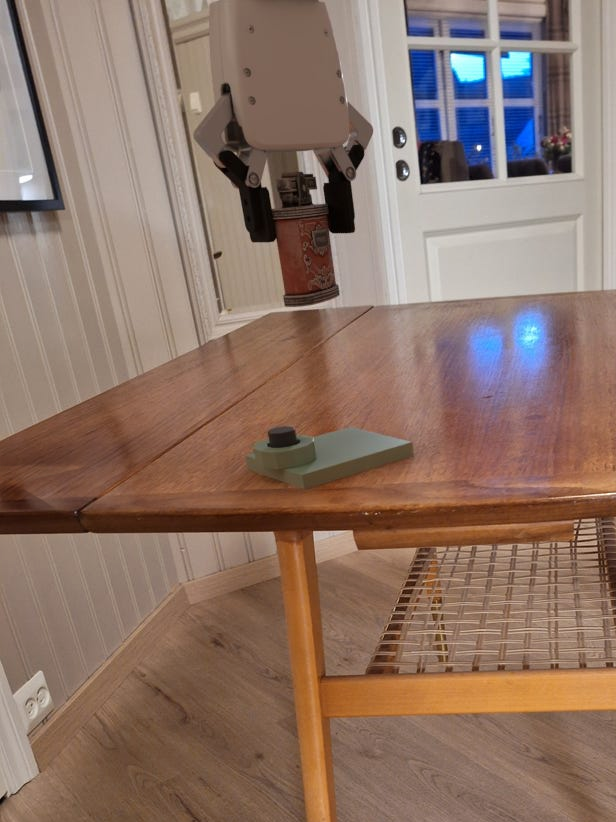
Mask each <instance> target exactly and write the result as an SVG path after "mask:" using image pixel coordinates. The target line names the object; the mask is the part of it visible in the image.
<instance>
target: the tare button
mask: <svg viewBox="0 0 616 822" xmlns="http://www.w3.org/2000/svg"><path fill="white" fill-rule="evenodd" d="M296 435H297V432H296V428H295V427H294V426H288V425H287V426H286V425H284V426H277V427H273V428H270V429H269V430H267V437H268V439H269V442H270V447H271V448H283V447H290V446H293V445H297V444H298V443H297V437H296Z"/></svg>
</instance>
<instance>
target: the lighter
mask: <svg viewBox="0 0 616 822" xmlns="http://www.w3.org/2000/svg"><path fill="white" fill-rule="evenodd" d="M275 183H276V190H277V193H278V194H279V199H280V201H281V207H276V208H274V207H273V208H272V215H273V220H274V226H275V232H276V240H275V241H276V246H277V251H278V258H279V264H280V271H281V278H282V284H283V290H284V294H283V295H282V298H283V305H284V307H285V308H298V307H299V308H301V307H309V306H314V305H318V304H322V303H325V302H328V301H331V300H333V299H335V298H337V297H339V296H340V289H339V288H340V287H339V284H337V282H336V274H335V266H334V259H333V251H332V245H331V236H330V231H329V227H328V220H327V214H328V213H329V210H328V204H325V203H316V204H314V203H313V197H312V194H311V192H310V191H312V190H318V185H317V177H316V176H314V173H304V172H303V171H291V172H282V173H281V177H280V178H275Z"/></svg>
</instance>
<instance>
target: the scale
mask: <svg viewBox="0 0 616 822" xmlns="http://www.w3.org/2000/svg"><path fill="white" fill-rule="evenodd" d="M296 437H297V443H298V444H297V445H293V446H290V447H283V448H271V447H270V442H269V438H266V439H262V440H260V441H258V442H256V443H254V444H253V448H252V449H253V452H252V453H250V454H246V455H244V458H245V463H246V468H247V470H248V471H252V472H254V473H257V474H260V475H263V476H266V477H269V478H271V479H274V480H276V481H279V482H282V483H285V484H288V485H290V486H293V487H296V488H299V489H301V490H308V489H312V488H314V487H317V486H321V485H324V484H328V483H331V482H335V481H337V480H340V479H344V478H347V477H349V476H353V475H356V474H360V473H363V472H367V471H369V470H373V469H375V468H376V469H377V468H379V467H382V466H385V465H388V464H392V463H395V462H399V461H402V460H405V459H408V458H411V457H414V445H413V441H410V440H407V439H401V438H397V437H394V436H389V435H385V434H382V433H378V432H373V431H369V430H365V429H361V428H358V427H354V426H348V427H344V428H340V429H337V430H333V431H330V432H326V433H322V434H320V435H315V436H308V435H304V434H296Z"/></svg>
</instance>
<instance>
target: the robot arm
mask: <svg viewBox="0 0 616 822" xmlns="http://www.w3.org/2000/svg"><path fill="white" fill-rule="evenodd" d="M208 6H209V7H208V9H209V10H208V11H209V12H208V34H209V35H208V36H209V38H208V39H209V57H210V59H209V63H210V73H211V82H212V92H213V100H214V105H213V107H212V108H211V109H210V110H209V112H208V113H206V115H205V117H204V118H203V119H202V120H201V122H200V123H199V124H198V126H197V127H196V128H195V129H194V132H193V135H192V136H193V139H194V141H195V142H196V143H197V144H198V145H199V147H200V148H201V149H202V150H203V152H204V153H205V154H206V155H207V156H208V157H209V158H210V159H211V160H212V162H213V164H214V166H215V167H216V168H217V169H218V170H219V171H220V172H221V173H222V174H223V176H225V177H226V178H227V179H228V180H229V181H230V184H231V186H232V187H233V188H234V189H236V190H238V192H239V199H240V204H241V205H240V206H241V209H242V217H243V221H244V227H245V229H246V231H247V232H248V233H249V239H250V241H251V242H252V243H274V242H275V241H277V240H276V232H275V226H274V220H273V215H272V209H273V208H272V201H271V196H270V190H269V189H268V187H267V186H262V179H263V175H264V171H265V167H266V163H267V160H268V157H269V154H271V153H272V154H274V153H293V152H295V153H296V152H308V151H312V152H313V154H314V156H315V158H316V159H317V161H318V163H319V165H320V167H321V168H322V170H323V172H324V174H325V176H326V178H327V180H328V182H323V185H322V189H323V190H322V191H323V197H324V204H328V210H329V213H328V214H327V220H328V227H329V233H331V234H354V233H355V231H356V223H355V219H356V215H355V214H356V213H355V206H354V205H355V203H354V195H353V188H352V181H354V180H355V179H356V178H357V170H358V169H359V167H360V165H361V163H362V162H363V160H364V159H365V150H367V148H368V146H369V143H370V141H371V139H372V136H373V134H374V127H373V125H372V124H371V123H370V122H369V121H368V120H367V119H366V118H365V116H363V115H362V114H361V113H360V112H359V111H358V110H357V109H356V108H355V107H354V106H353V105H352V104H351V103H350V102H349V101H348V98H347V93H346V92H347V91H346V86H345V80H344V74H343V68H342V63H341V58H340V54H339V50H338V46H337V41H336V40H337V39H336V36H335V33H334V29H333V26H332V21H331V18H330V15H329V12H328V9H327V5H326V2H324V1H320V0H216V1H213V2H210V3H209V5H208ZM346 143H347V144H346ZM344 144H346V145H345V146H344Z"/></svg>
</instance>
